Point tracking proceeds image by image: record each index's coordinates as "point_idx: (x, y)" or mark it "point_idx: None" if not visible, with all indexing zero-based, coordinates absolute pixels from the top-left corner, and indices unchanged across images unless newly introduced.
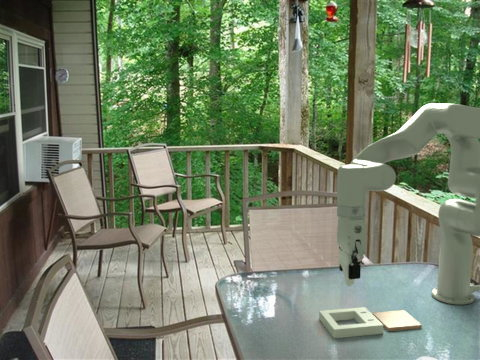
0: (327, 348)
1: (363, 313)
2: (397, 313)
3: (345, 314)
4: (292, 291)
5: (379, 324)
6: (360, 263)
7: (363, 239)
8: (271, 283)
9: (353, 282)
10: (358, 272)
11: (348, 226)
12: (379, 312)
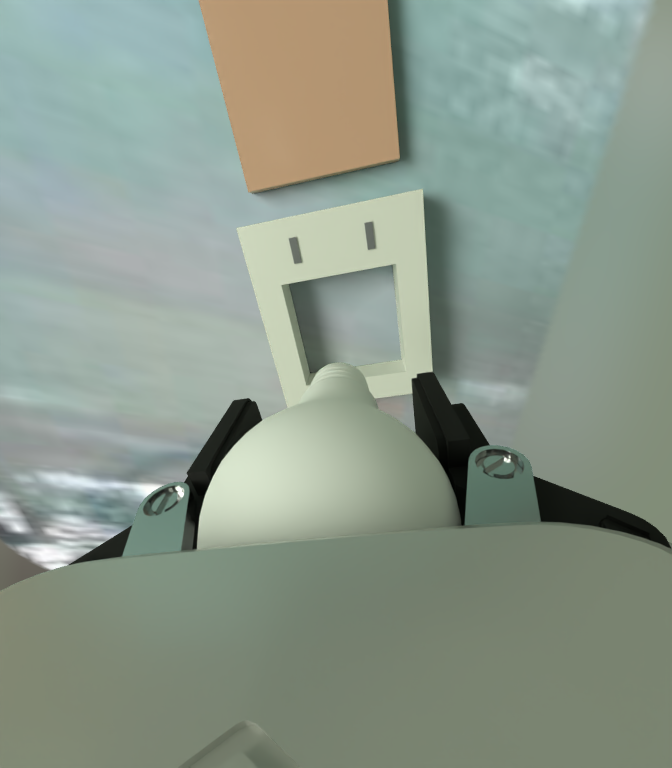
0: (483, 405)
1: (304, 252)
2: (244, 45)
3: (293, 320)
4: (92, 439)
5: (414, 206)
6: (526, 469)
7: None
8: (49, 484)
9: (361, 375)
10: (470, 418)
11: None
12: (243, 154)
